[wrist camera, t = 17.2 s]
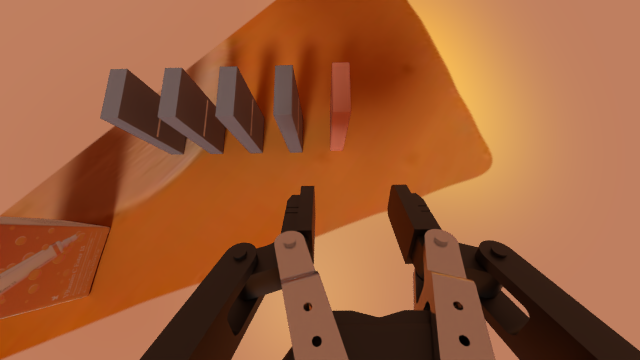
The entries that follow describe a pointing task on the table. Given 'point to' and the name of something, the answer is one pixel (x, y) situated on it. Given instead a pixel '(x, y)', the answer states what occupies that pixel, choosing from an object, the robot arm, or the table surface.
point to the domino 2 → (190, 111)
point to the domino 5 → (339, 105)
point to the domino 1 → (138, 112)
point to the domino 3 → (239, 110)
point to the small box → (46, 262)
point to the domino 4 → (288, 107)
